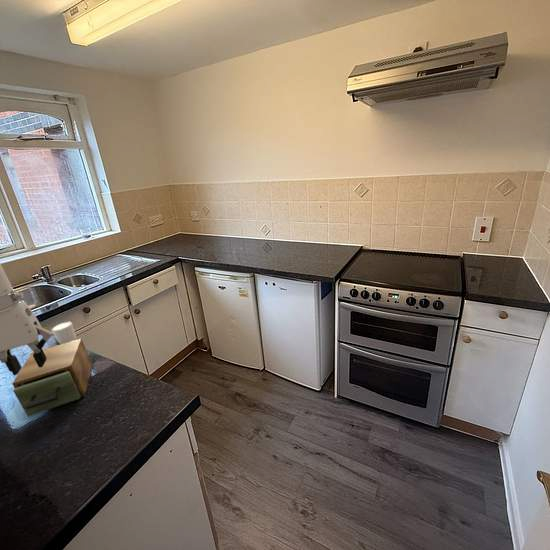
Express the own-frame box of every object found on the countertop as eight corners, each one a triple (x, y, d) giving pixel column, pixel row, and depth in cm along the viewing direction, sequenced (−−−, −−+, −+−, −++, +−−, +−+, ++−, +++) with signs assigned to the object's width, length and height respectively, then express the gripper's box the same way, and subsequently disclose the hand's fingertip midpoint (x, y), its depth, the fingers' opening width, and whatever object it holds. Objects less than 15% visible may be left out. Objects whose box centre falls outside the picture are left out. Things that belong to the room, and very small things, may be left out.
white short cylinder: (72, 335, 121) (65, 320, 118) (82, 338, 118) (75, 322, 115) (54, 345, 115) (47, 329, 113) (64, 348, 112) (57, 332, 110)
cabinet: (85, 395, 85) (71, 365, 82) (29, 414, 81) (11, 383, 77) (92, 365, 99) (81, 338, 95) (45, 380, 95) (31, 352, 91)
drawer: (77, 409, 79) (64, 383, 76) (21, 429, 75) (5, 402, 72) (88, 369, 96) (78, 346, 93) (43, 383, 92) (31, 360, 89)
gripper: (44, 287, 74) (71, 349, 81) (-42, 307, 69) (-5, 371, 75) (34, 298, 67) (65, 364, 74) (-61, 321, 62) (-19, 390, 69)
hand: (30, 367), depth 74 cm, fingers open, 4 cm apart
